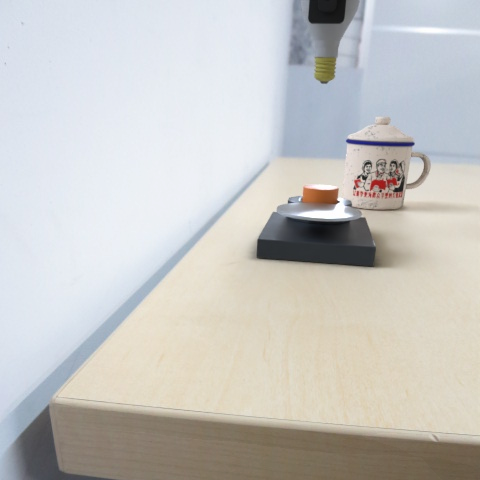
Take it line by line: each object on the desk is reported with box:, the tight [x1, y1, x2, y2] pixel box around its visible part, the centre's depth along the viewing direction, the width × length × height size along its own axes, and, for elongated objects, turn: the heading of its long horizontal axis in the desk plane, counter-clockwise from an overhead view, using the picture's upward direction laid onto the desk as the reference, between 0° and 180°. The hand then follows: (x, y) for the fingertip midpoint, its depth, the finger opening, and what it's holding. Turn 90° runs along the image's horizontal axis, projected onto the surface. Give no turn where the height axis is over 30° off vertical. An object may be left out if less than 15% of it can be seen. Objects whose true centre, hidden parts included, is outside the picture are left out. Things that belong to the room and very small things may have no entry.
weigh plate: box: [276, 202, 363, 222], centre depth 45 cm, size 8×8×1 cm
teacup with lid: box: [341, 116, 432, 211], centre depth 68 cm, size 12×9×12 cm
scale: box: [256, 195, 377, 267], centre depth 48 cm, size 14×10×4 cm
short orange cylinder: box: [302, 184, 340, 204], centre depth 51 cm, size 4×4×2 cm
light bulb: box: [300, 0, 361, 85], centre depth 47 cm, size 5×6×10 cm
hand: (326, 26), depth 47 cm, fingers closed on light bulb, 5 cm apart
